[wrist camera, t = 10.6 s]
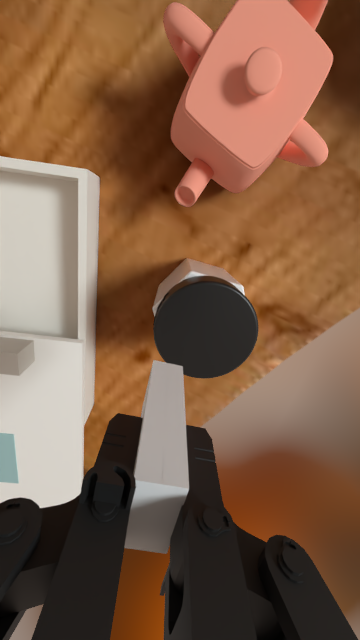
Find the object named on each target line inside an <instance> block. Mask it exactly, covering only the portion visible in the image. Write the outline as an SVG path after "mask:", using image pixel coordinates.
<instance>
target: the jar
mask: <svg viewBox="0 0 360 640" xmlns="http://www.w3.org/2000/svg"><path fill="white" fill-rule="evenodd" d="M152 310H153V313H154V316H155V318H154V328H153V330H154V339H155V344H156V347H157V349H158V351H159V353H160V355H161V357H162V358H163V359H164V361H165V362H166V363H170V364H175V365H179V366H183V374H184V375H187V376H190V377H195V378H213V377H218V376H222V375H224V374H227V373H229V372H231V371H233V370H234V369H236V368H237V367H239V366H240V365H241V364H242V363H243V362H244V361H245V360H246V359H247V358H248V356H249V355H250V354H251V352H252V350H253V348H254V346H255V343H256V340H257V336H258V320H257V316H256V312H255V310H254V308H253V306H252V304H251V303H250V301H249V300H248V299H247V297H246V296H245V294H244V288H243V286H242V285H241V284H240V283H239V282H238V281H237V280H236V279H234V278H233V277H232V276H231V275H230V274H229V273H228V272H227V271H225V270H224V269H223V268H219V267H216V266H212V265H209V264H206V263H202V262H199V261H195V260H192V259H188V258H186V259H185V260H184V261H183V262H182V263H181V264H180V265H179V266H178V267H177V268H176V269H175V270H174V271H173V272H172V273H171V274H170V275H169V276H168V277H167V278H166V279H165V280H164V281H163V282H162V283H161V284H160V285H159V287H158V290H157V294H156V297H155V301H154V304H153V308H152Z"/></svg>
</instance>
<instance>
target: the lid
mask: <svg viewBox="0 0 360 640" xmlns="http://www.w3.org/2000/svg"><path fill="white" fill-rule="evenodd" d="M84 369H85V340H79V339H70V338H61V337H52V336H43V335H34V334H25V333H16V332H7V331H0V503H2V502H4V501H6V500H8V499H13V498H20V497H22V498H27V499H31V500H33V501H34V502H35V503H37V504H38V505H39V507H40V508H45V507H50V506H56V505H60V504H64V503H67V502H69V501H71V500H73V499H75V498H76V497H77V496H78V495H79V494H80V493H81V487H82V481H83V459H84Z"/></svg>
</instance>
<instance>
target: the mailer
mask: <svg viewBox="0 0 360 640" xmlns="http://www.w3.org/2000/svg"><path fill="white" fill-rule="evenodd" d="M99 192H100V177H98V176H97V175H95V174H94V173H92V172H91V171H89V170H88V169H82V168H75V167H68V166H61V165H55V164H48V163H41V162H35V161H28V160H21V159H15V158H8V157H1V156H0V331H7V332H16V333H25V334H34V335H43V336H52V337H61V338H70V339H79V340H85V369H84V425H85V423H86V420H87V418H88V416H89V414H90V412H91V410H92V407H93V405H94V383H95V345H96V306H97V268H98V230H99Z"/></svg>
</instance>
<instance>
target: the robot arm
mask: <svg viewBox="0 0 360 640" xmlns="http://www.w3.org/2000/svg"><path fill="white" fill-rule="evenodd" d="M169 546H170V563H169V567H168V569H167V572H166V575H165V577H164V580H163V583H162V586H161V592H160V595H164V593H165V618H164V640H358V639H357V637H356V635H355V634H354V632H353V630H352V628H351V626H350V625H349V623H348V621H347V620H346V618H345V616H344V615H343V613H342V611H341V609H340V608H339V606H338V604H337V602H336V601H335V599H334V597H333V596H332V594H331V592H330V591H329V589H328V587H327V586H326V584H325V582H324V580H323V579H322V577H321V575H320V573H319V571H318V570H317V568H316V566H315V565H314V563H313V561H312V560H311V558H310V557H309V556H308V554H307V553H306V552H305V550H304V549H303V548H302V547H301V546H300V545H299V544H298V543H296V542H295V541H294V540H292V539H290V538H288V537H286V536H282V535H275V536H273V537H271V538H269V540H268V542H267V543H266V542H264V541H263V540H261V539H259V538H257V537H255V536H253V535H251V534H249V533H247V532H246V531H244V530H242V529H241V528H239V527H238V526H237V525H236V524H235V523H234V522H233V520H232V518H231V515H230V514H229V513H228V511H227V510H226V509H225V508H224V505H223V501H222V496H221V491H220V484H219V478H218V473H217V467H216V463H215V455H214V450H213V444H212V439H211V437H210V436H209V434H208V433H207V431H206V429H204V428H200V427H194V426H189V425H186V418H185V399H184V380H183V366H179V365H175V364H170V363H165V362H160V361H155V360H153V365H152V369H151V373H150V377H149V382H148V386H147V390H146V395H145V399H144V403H143V408H142V413H141V417H136V416H130V415H125V414H119V413H118V414H117V415H116V416H115V417H114V418H112V419H111V420H110V421H109V424H108V427H107V430H106V433H105V436H104V439H103V442H102V445H101V448H100V451H99V454H98V456H97V459H96V462H95V465H94V467H92V468H91V469H90V470H89V471H88V472H87V473H86V475H85V477H84V478H83V481H82V487H81V493H80V494H79V495H78V496H77V497H76V498H75V499H73V500H71V501H69V502H67V503H64V504H60V505H56V506H50V507H45V508H40V507H39V505H38V504H37V503H35V502H34V501H33V500H31V499H27V498H22V497H20V498H13V499H8V500H6V501H4V502H2V503H0V640H9V639H10V637H11V635H12V633H13V632H14V630H15V628H16V627H17V625H18V623H19V621H20V620H21V618H22V616H23V615H24V613H25V611H26V609H29V608H32V607H35V606H38V605H42V604H44V605H43V608H42V611H41V614H40V616H39V619H38V623H37V625H36V628H35V631H34V634H33V637H32V639H31V640H110V635H111V629H112V622H113V616H114V610H115V603H116V597H117V591H118V584H119V578H120V572H121V565H122V559H123V552H124V548H129V549H137V550H144V551H152V552H158V553H167V551H168V548H169Z"/></svg>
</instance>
